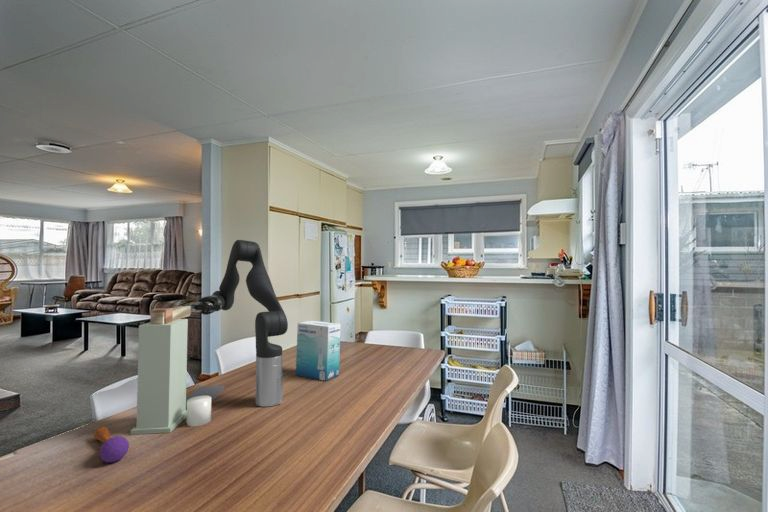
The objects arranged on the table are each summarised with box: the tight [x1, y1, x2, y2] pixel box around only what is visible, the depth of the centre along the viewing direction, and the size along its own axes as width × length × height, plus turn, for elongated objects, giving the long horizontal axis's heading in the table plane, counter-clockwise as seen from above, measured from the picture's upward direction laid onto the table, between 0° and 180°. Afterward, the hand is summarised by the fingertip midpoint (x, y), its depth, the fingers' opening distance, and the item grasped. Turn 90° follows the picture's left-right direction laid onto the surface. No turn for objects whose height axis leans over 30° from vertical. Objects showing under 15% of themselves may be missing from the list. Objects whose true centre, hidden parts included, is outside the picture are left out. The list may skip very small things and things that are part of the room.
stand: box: [130, 318, 189, 435], centre depth 112 cm, size 11×14×32 cm
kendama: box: [93, 426, 130, 464], centre depth 95 cm, size 6×6×20 cm
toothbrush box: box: [295, 320, 342, 382], centre depth 161 cm, size 18×10×24 cm, turn 63°
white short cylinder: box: [185, 396, 212, 427], centre depth 113 cm, size 7×7×7 cm
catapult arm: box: [149, 305, 192, 325], centre depth 118 cm, size 4×20×4 cm, turn 7°
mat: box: [186, 385, 226, 410], centre depth 133 cm, size 10×22×1 cm, turn 7°
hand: (194, 309), depth 136 cm, fingers open, 8 cm apart
